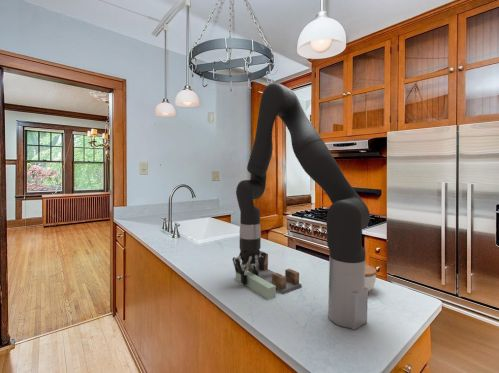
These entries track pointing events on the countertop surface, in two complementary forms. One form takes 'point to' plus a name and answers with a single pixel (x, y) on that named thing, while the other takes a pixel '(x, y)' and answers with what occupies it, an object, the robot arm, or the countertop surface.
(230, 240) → the countertop surface
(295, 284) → the holder
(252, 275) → the slat
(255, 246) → the robot arm
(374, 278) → the lidded jar
